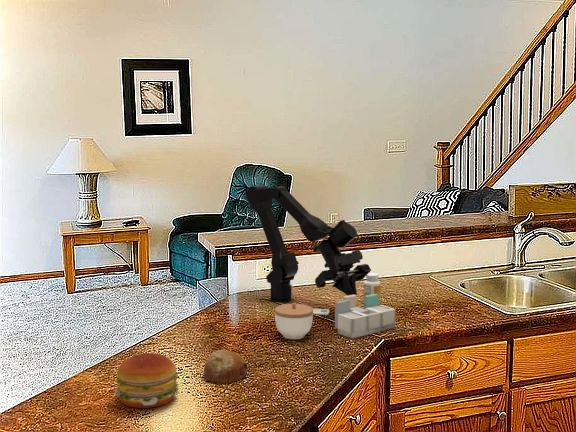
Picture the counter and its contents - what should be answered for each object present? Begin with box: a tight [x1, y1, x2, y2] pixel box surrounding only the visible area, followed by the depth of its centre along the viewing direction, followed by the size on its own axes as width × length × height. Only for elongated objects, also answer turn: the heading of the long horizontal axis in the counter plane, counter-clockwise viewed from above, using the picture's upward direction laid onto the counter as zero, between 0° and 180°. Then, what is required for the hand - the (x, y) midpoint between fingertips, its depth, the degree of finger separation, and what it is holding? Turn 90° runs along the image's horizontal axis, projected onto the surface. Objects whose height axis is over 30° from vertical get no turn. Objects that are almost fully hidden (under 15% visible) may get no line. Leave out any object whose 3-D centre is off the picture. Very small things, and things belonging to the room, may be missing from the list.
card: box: [313, 308, 330, 316], centre depth 220 cm, size 8×5×1 cm, turn 83°
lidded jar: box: [274, 302, 314, 340], centre depth 196 cm, size 11×11×9 cm
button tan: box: [342, 294, 369, 315], centre depth 205 cm, size 7×4×8 cm, turn 38°
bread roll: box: [203, 349, 248, 384], centre depth 167 cm, size 10×10×8 cm
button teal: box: [363, 294, 390, 311], centre depth 206 cm, size 7×4×8 cm, turn 38°
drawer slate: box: [334, 299, 360, 330], centre depth 199 cm, size 7×4×8 cm, turn 38°
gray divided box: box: [337, 304, 397, 339], centre depth 202 cm, size 6×17×6 cm, turn 127°
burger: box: [114, 352, 179, 409], centre depth 152 cm, size 14×14×10 cm
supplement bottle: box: [362, 272, 381, 305], centre depth 230 cm, size 5×5×10 cm
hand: (355, 299), depth 213 cm, fingers closed
